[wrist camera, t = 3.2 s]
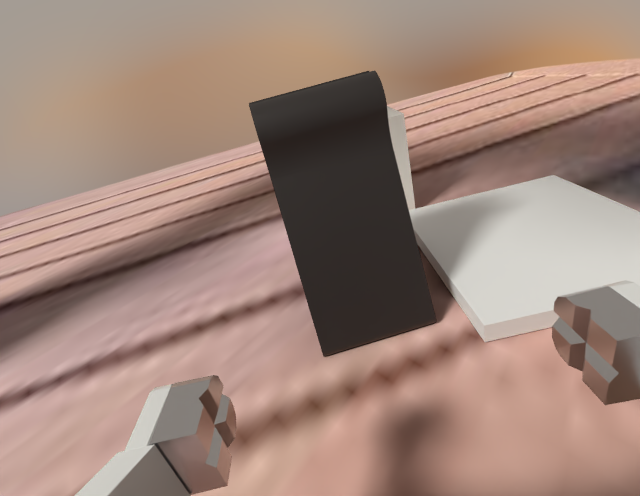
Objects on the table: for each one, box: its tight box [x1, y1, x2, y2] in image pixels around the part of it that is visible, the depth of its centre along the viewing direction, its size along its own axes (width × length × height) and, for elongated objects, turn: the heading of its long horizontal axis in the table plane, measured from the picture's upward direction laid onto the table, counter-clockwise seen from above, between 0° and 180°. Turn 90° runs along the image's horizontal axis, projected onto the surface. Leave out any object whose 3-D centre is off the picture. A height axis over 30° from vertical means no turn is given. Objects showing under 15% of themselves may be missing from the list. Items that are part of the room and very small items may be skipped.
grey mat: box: [409, 175, 640, 342], centre depth 23 cm, size 12×14×1 cm
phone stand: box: [249, 71, 436, 356], centre depth 20 cm, size 9×6×12 cm, turn 10°
